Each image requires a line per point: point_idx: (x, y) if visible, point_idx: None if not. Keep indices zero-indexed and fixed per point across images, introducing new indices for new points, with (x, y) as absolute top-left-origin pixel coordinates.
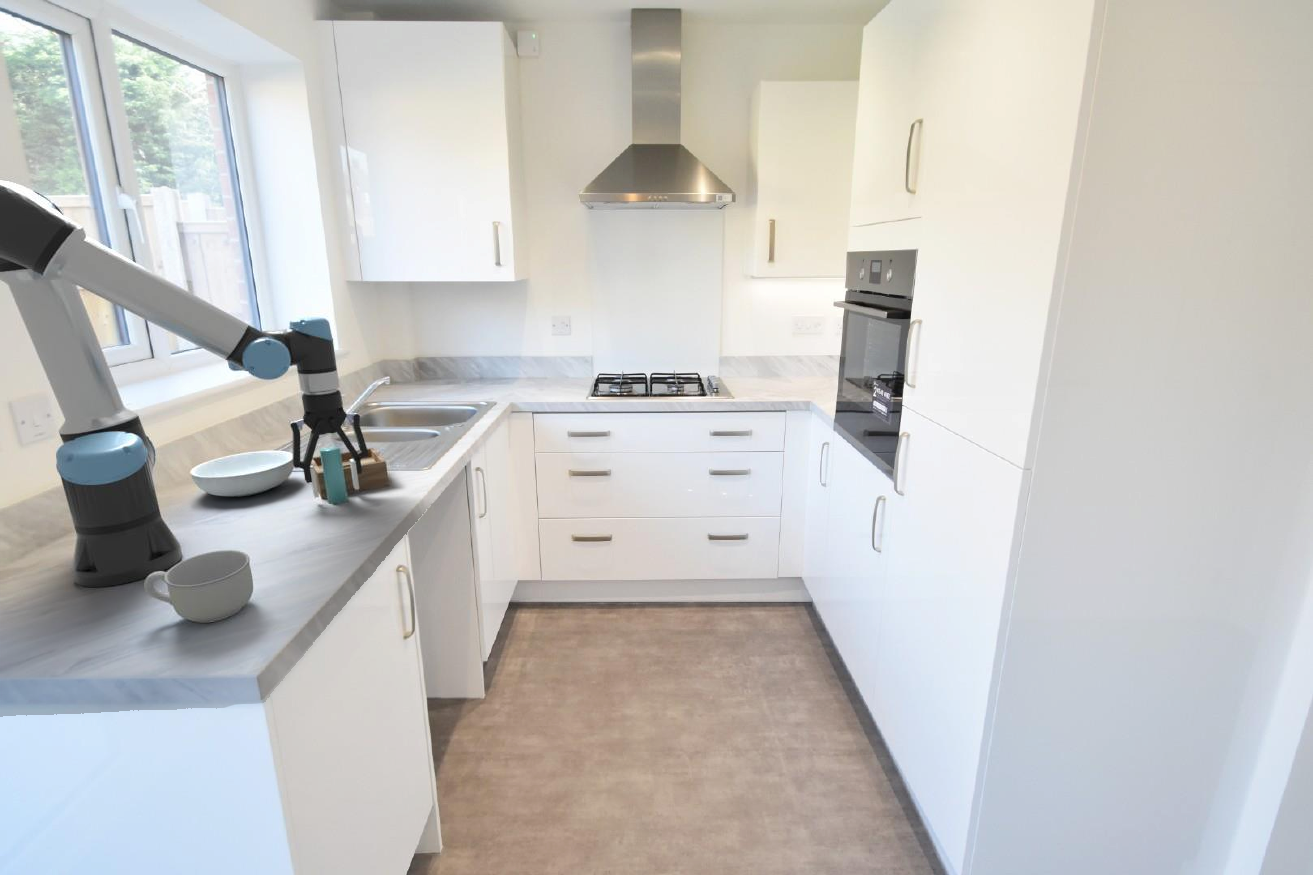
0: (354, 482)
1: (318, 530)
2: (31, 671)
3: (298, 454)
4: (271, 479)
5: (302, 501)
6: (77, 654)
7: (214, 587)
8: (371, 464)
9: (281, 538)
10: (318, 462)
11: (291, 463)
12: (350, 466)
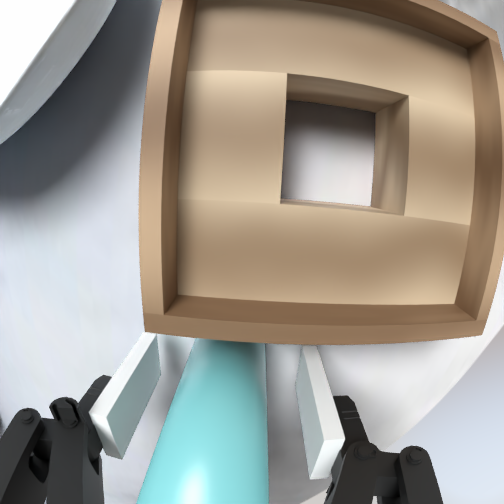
0: (299, 398)
1: None
2: None
3: (38, 498)
4: (14, 129)
5: (120, 261)
6: None
7: None
8: (430, 340)
9: (101, 455)
10: None
11: (78, 16)
12: (369, 90)
